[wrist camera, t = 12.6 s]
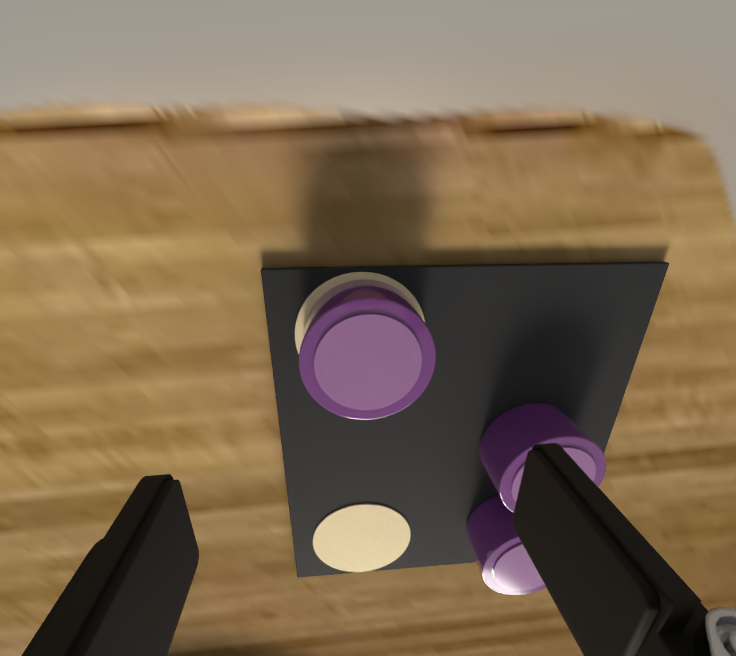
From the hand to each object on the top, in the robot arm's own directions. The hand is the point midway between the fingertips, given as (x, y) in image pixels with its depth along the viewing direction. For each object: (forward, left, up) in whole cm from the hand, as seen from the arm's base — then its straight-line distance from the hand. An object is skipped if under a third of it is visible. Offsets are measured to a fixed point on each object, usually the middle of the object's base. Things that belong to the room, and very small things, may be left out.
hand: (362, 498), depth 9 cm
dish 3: (+12, -16, -11) cm, 22 cm away
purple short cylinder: (+1, 0, -10) cm, 10 cm away
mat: (+7, -8, -11) cm, 15 cm away
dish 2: (+12, -8, -11) cm, 18 cm away
